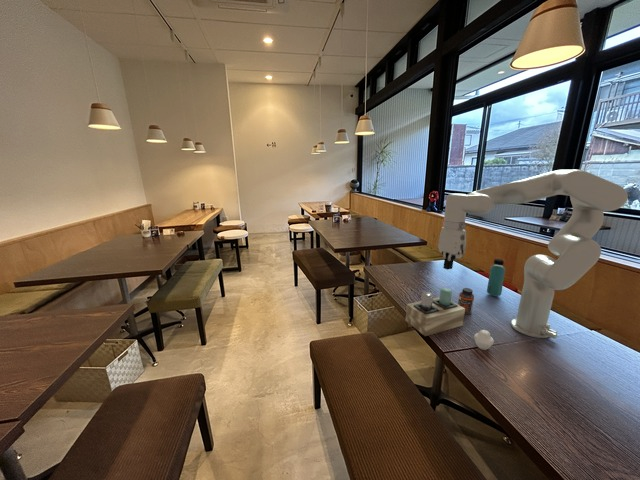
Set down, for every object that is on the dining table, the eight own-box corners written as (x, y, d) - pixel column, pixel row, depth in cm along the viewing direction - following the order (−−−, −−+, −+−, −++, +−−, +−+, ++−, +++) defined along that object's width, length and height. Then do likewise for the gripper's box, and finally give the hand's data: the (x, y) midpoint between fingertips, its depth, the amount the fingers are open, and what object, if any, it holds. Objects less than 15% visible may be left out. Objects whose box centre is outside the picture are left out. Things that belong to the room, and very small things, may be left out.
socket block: (462, 325, 109) (465, 307, 107) (425, 336, 103) (427, 317, 100) (440, 311, 120) (442, 294, 118) (405, 320, 113) (406, 303, 111)
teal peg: (452, 308, 110) (454, 291, 108) (444, 310, 109) (446, 293, 107) (444, 303, 114) (446, 287, 112) (436, 305, 113) (438, 288, 111)
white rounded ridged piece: (470, 346, 96) (472, 330, 94) (476, 339, 100) (479, 323, 98) (488, 355, 92) (491, 338, 90) (494, 347, 95) (497, 331, 94)
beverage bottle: (503, 297, 133) (510, 260, 127) (494, 299, 130) (501, 262, 125) (491, 292, 138) (497, 256, 133) (482, 294, 136) (488, 258, 131)
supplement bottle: (456, 313, 119) (460, 290, 116) (457, 307, 124) (460, 285, 121) (471, 316, 116) (475, 293, 113) (471, 310, 121) (474, 288, 118)
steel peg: (433, 313, 107) (435, 295, 105) (425, 315, 105) (427, 297, 103) (426, 308, 111) (427, 291, 109) (417, 310, 109) (419, 292, 107)
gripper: (477, 228, 97) (470, 273, 101) (446, 221, 110) (440, 261, 115) (462, 229, 94) (455, 276, 99) (432, 222, 108) (427, 263, 112)
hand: (447, 268), depth 107 cm, fingers closed
